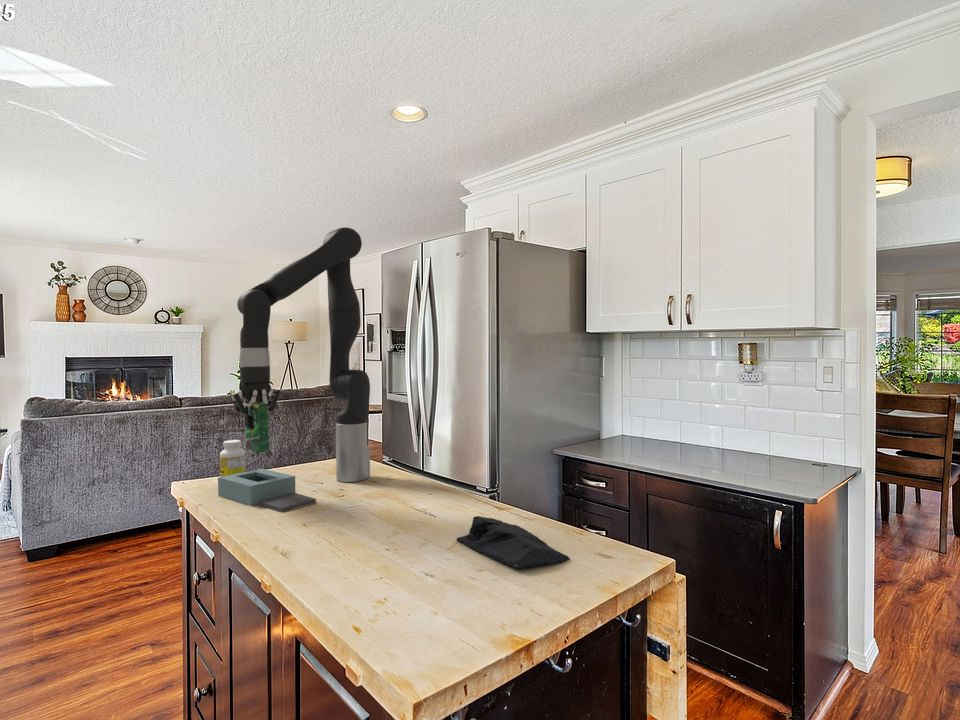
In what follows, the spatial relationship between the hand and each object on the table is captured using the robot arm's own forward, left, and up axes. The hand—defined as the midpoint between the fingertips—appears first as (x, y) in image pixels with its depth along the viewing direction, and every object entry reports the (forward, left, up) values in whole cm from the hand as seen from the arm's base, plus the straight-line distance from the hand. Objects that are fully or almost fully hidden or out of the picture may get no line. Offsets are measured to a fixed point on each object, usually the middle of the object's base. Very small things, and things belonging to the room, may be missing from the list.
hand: (256, 427), depth 145 cm
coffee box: (0, 0, -6) cm, 6 cm away
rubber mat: (0, +14, -18) cm, 23 cm away
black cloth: (-8, +77, -19) cm, 80 cm away
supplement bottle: (-2, -16, -19) cm, 24 cm away
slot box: (0, 0, -18) cm, 18 cm away
